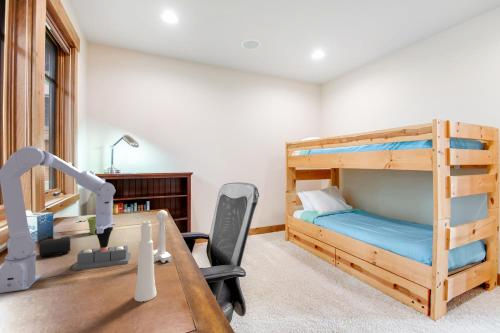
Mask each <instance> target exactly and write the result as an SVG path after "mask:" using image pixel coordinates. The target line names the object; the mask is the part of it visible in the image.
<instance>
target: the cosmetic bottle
mask: <svg viewBox="0 0 500 333" xmlns="http://www.w3.org/2000/svg"><path fill="white" fill-rule="evenodd" d="M140 226H141V227H140V241H139V243H138V244H139V245H138V255H137V256H138V257H137V258H138V260H137V275H136V283H135V284H136V285H135V291H134V296H133V298H134V301H136V302H143V301H144V302H147V301H148V302H149V301H151V300H153V299H154V298H155V297H156V296H157V289H156V282H155V262H154V256H153V250H154V241H153V240H152V223H151V220H144V221H142V224H141V225H140Z"/></svg>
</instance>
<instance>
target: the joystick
mask: <svg viewBox="0 0 500 333" xmlns="http://www.w3.org/2000/svg"><path fill="white" fill-rule="evenodd" d="M168 214H169V213H168V212H167V211H166V210H164V209H162V210H159V211H157V213H156V214H155V215H156V216H155V218H156V220H157V221H158V236H157V239H158V240H157V248H156V249H153V256H154V263H157V262H158V261H161V263H164V264H165V263H166V261H167V263H170V262H171V261H172V254H170V253H169V252H168V251H166V229H165V226H166V225H165V222H166V220H167V219H168V216H169V215H168ZM156 261H157V262H156Z"/></svg>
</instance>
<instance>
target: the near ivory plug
mask: <svg viewBox="0 0 500 333" xmlns="http://www.w3.org/2000/svg"><path fill="white" fill-rule="evenodd" d="M91 249H92V248H88V250H85V249H83V250H84V251H83V253H90V252H92V250H91Z"/></svg>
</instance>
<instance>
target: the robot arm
mask: <svg viewBox="0 0 500 333" xmlns="http://www.w3.org/2000/svg"><path fill="white" fill-rule="evenodd" d="M36 166H44V167H51V168H54V169H56V170H58V171H60V172H62V173H64V174H65V175H68V176H69V177H71V178H74V181H75V184H76V185H79V186H81V187H82V188H84V189H87V190H88V191H90V192H92V193H94V195H95V196H96V197H95V200H96V201H95V216H96V224H95V227H96V228H97V230H95V234H94V235H96V237H97V239H98V243H99V248H100V247H101V248H103V247H107V246H108V245H109V240H110V236H111V233H112V232H113V229H114V227H113V226H116V225H117V222H113V221H114V220H113V219H114V218H113V217H114V215H113V214H114V213H113V212H114V211H113V210H114V201H113V200H114V195H115V193H116V192H117V191H116V189H115V188H116V187H115V186H114V185H113V183H110V182H107V181H106V179H105V178H100V177H99V176H98V175H96V174H95V172H93V171H92V170H89V171H88V170H80V169H78V168H76V167H75V166H73V165H71V164H70V163H68V162H67V161H65V160H63V159H62V158H60V157H58V156H56V155H54V154H53V153H51V152H48V151H46V150H42V149H41V148H40V147H38V146H34V145H28V146H27V145H26V146H24V147H21V148H20V149H18V150H16V151H15V152H13V153H12V154H11V155H10V156H9V157H8V159H7V161H5V163H4V164H3V165H2V167H1V168H0V189H1V194H2V201H3V205H4V206H3V207H4V211H5V218H6V224H7V229H8V230H7V231H8V238H7V240H6V248H7V254H6V255H5V256H4V263H3V264H2V266H1V267H0V294H2V293H8V292H17V291H24V290H28V289H30V287H31V286H33V284H35V283H36V282H37V281H38V280H39V279H40V278H41V277H42V274H38V275H37V273H36V272H37V251H36V248H37V242H36V241H35V239H33V236H32V234H31V231H30V228H29V223H28V216H27V212H26V205H25V198H24V194H23V187H22V180H21V177H22V176H23V175H24V174H25V173H27V172H28V171H29V170H30V169H32V168H34V167H36ZM108 247H109V246H108Z"/></svg>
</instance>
